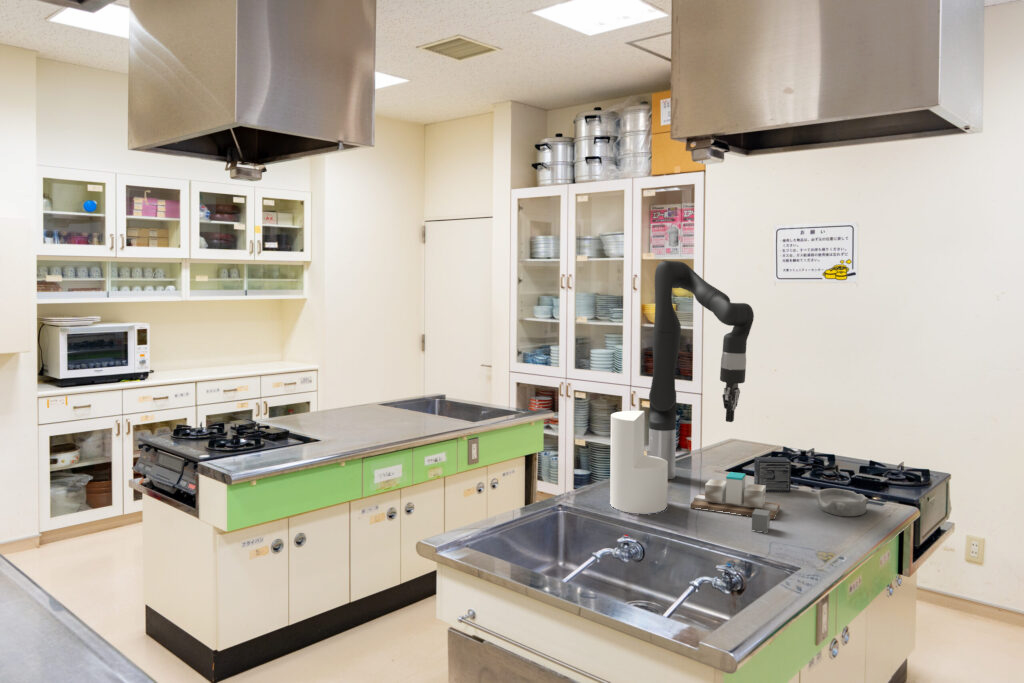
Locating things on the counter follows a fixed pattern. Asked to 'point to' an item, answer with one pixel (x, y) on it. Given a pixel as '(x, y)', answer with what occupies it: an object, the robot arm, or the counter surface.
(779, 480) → the small box
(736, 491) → the block
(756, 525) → the grey block
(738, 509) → the board
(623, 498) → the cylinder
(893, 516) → the counter surface
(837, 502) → the dish
